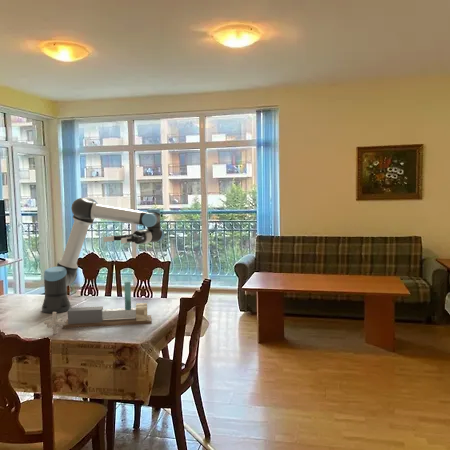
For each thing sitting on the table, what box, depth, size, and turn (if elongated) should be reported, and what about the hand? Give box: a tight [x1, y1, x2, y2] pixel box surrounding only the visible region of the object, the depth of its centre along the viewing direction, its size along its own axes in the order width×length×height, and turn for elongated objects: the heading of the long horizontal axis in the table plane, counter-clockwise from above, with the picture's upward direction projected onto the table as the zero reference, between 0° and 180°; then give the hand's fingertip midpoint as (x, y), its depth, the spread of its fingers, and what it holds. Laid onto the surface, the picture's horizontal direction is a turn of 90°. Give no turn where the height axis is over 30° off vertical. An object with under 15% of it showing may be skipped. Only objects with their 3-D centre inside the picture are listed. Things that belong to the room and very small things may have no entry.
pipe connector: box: [43, 312, 66, 335], centre depth 210 cm, size 10×10×10 cm
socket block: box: [135, 302, 148, 321], centre depth 230 cm, size 9×6×7 cm, turn 10°
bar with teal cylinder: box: [102, 281, 136, 319], centre depth 228 cm, size 4×24×18 cm, turn 100°
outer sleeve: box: [67, 306, 104, 324], centre depth 225 cm, size 6×16×6 cm, turn 100°
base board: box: [62, 314, 152, 329], centre depth 228 cm, size 12×42×1 cm, turn 100°
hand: (112, 240), depth 240 cm, fingers open, 13 cm apart
